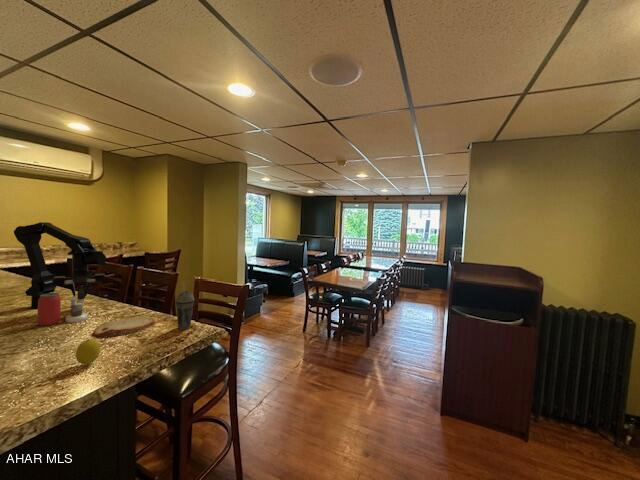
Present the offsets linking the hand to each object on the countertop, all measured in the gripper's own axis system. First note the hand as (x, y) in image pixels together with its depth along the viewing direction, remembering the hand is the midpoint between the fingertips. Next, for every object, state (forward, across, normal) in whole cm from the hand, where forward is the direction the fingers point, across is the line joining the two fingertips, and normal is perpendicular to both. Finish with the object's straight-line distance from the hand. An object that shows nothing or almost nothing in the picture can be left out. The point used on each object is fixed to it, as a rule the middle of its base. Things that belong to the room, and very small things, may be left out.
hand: (80, 296), depth 129 cm
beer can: (+6, -9, -18) cm, 21 cm away
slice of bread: (+7, +15, -38) cm, 42 cm away
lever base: (+6, -1, -18) cm, 19 cm away
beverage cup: (+7, +34, -50) cm, 61 cm away
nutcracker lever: (+4, 0, -9) cm, 10 cm away
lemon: (+6, +3, -66) cm, 66 cm away
